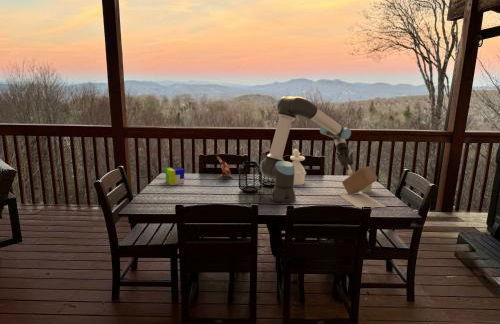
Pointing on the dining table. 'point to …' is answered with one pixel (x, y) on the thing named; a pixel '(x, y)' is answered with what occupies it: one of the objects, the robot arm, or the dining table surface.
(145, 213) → the dining table surface
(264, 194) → the dining table surface
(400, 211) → the dining table surface
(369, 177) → the wooden block
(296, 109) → the robot arm
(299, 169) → the decorative object
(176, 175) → the puzzle toy
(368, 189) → the sage block
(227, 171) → the decorative bird
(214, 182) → the dining table surface
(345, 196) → the mat
